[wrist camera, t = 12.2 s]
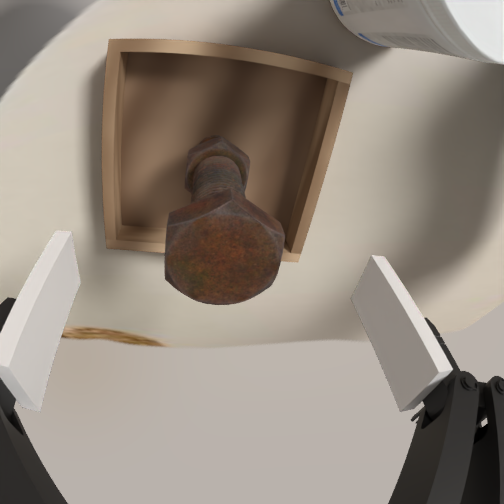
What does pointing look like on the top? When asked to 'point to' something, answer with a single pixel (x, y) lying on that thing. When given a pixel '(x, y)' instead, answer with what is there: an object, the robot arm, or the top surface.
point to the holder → (213, 132)
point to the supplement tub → (429, 25)
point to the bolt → (221, 230)
